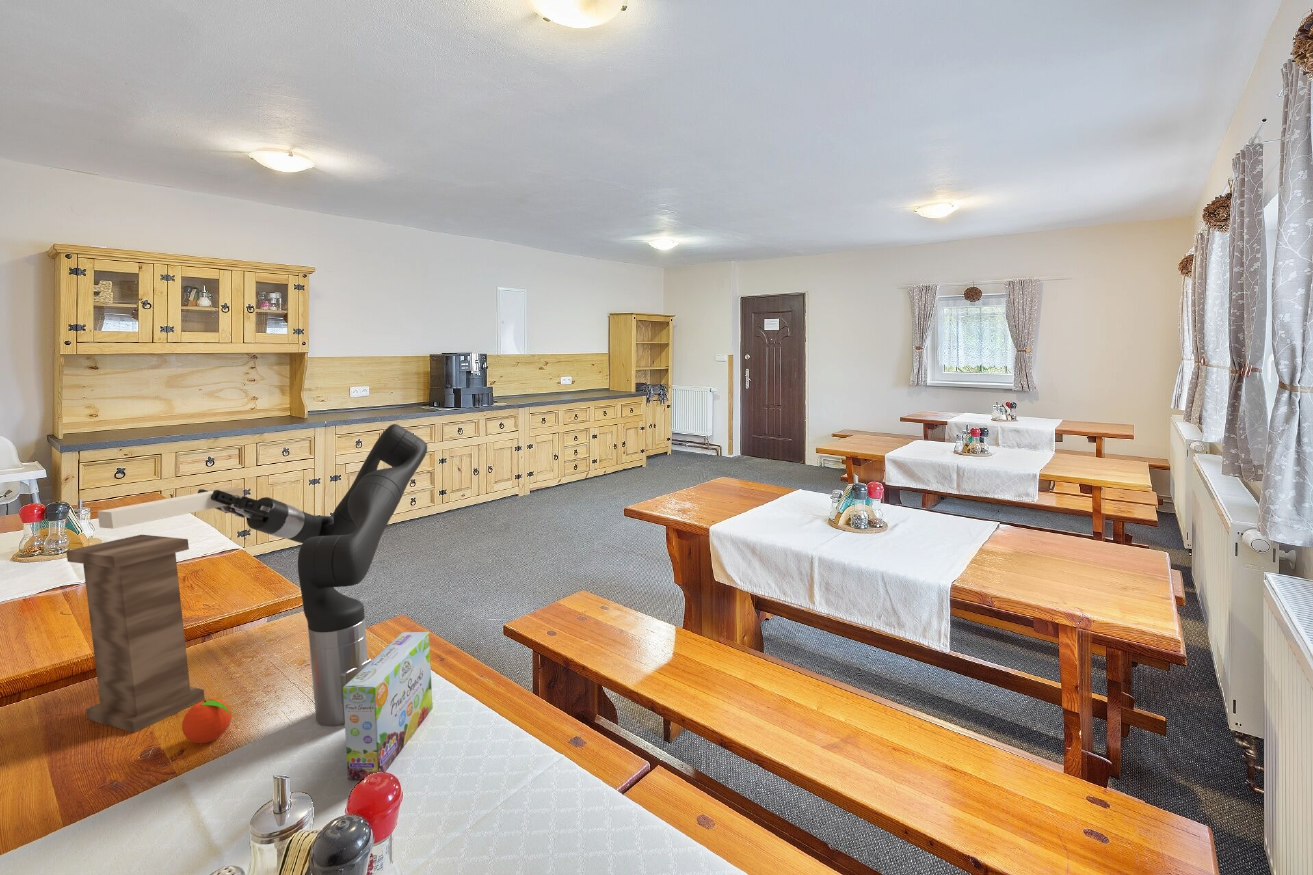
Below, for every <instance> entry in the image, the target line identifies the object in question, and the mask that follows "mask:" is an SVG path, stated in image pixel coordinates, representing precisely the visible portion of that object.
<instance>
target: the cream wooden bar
mask: <svg viewBox="0 0 1313 875" xmlns="http://www.w3.org/2000/svg"><path fill="white" fill-rule="evenodd" d="M214 490H220V491H223V492H225V493H228V494H231V495H233V496H234V495H238V496H240V497H242V496H245V493H244V487H235V486H234V487H233V486H227V487H224V488H222V487H221V488H217V489H213V490H207V491H208V492H203V493H198V492H196V493H191V494H186V495H180V496H176V497H171V498H164V499H158V500H153V501H148V502H143V503H135V504H130V505H126V506H125V505H124V506H120V507H114V508H108V509H102V510H98V511H97V517H98V518H97V519H98V526H99V528H101V529H102V528H103V529H111V530H112V529H113V530H114V529H119V528H124V527H128V526H133V525H138V524H143V523H148V522H152V521H157V520H163V519H169V518H172V517H177V516H182V515H187V514H192V513H197V512H201V511H206V510H210V509H211V510H212V509H215V508H217V507H222V506H229V505H230V504H229V505H225V504H222V503H219V502H216V501H213V500H211V496H212V494H213V492H214Z"/></svg>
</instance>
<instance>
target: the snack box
mask: <svg viewBox="0 0 1313 875" xmlns="http://www.w3.org/2000/svg"><path fill="white" fill-rule="evenodd" d="M430 640H431V639H430V631H417V632H416V631H414V632H413V631H412V632H407V631H406V632H401V633H400V634H399V635H398V636H397V637H396V638H395V639H394V640H393V641H392V642H390V643H389V644H388V645H387V646H386V647H385V648H384V649H383V650H382V651H381V652H380V653H379V654H378V655H376V656H375V657H374V658H373V659H371V660H372V661H371V662H370V663H369V664H368V665H367V666H366V667H365V668H364V669H363V670H361V671H360V672H359V673H358V674H357V675H356V676H355V677H354V678H353V679H352V680H351V681H350V682H348V683H347V684H346V685H345V686H344V687H343V699H344V716H345V724H344V728H345V730H344V731H345V746H346V748H345V750H346V764H347V767H346V768H347V780H359V781H361V780H362V779H364V778H365V777H367V776H368V775H370V774H373V773H377V772H387V770H388V769H389V767H390V766H391V764H392V763H393V762H394V761H395V759H396V758H397V757H398V755H399V754H400V752H401V751H402V750H403V748H404V747H405V746H406V745H407V743H408V742H409V741H410V739H411V738H412V736H413V735H414V733H416V731H417V729H418V728H419V727H420V726H421V725H422V724H423V722H424V721H425V719H426V718H427V717H428V715H429V714H430V713H431V712H432V710H433V707H434V705H433V688H432V668H431V648H430V647H431V643H430Z"/></svg>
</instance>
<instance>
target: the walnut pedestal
mask: <svg viewBox="0 0 1313 875" xmlns="http://www.w3.org/2000/svg"><path fill="white" fill-rule="evenodd" d="M187 550H190V547H189V539H188V538H181V537H180V538H179V537H170V536H162V535H161V536H160V535H151V534H150V535H149V534H138V535H134V536H129V537H124V538H121V539H115V540H110V541H106V542H101V543H97V544H92V545H87V546H83V547H78V548H73V549H68V550H66V551H65V552H66V559H67V562H69V563H76V564H82V566H83V573H84V574H83V575H84V582H85V591H86V598H87V605H88V606H87V607H88V613H89V622H90V629H91V630H90V631H91V632H90V633H91V638H92V646H93V647H92V648H93V657H94V662H95V670H96V671H95V673H96V680H97V687H98V688H97V689H98V696H99V703H97V704H95V705H93V706H90V707H87V708H86V709H85V711H86V718H87V720H89V721H92V722H96V723H99V724H103V725H106V726H109V727H112V728H113V727H114V728H117V729H120V730H123V731H127V732H131V733H137V732H138V731H141V730H143V729H146V728H147V727H149V726H152V725H154V724H157V722H160V721H162V720H164V719H166V718H168V717H171V716H173V715H175V714H178V712H181V711H182V710H185V709H187V708H189V707H193V706H194V705H196V704H197V703H199V702H201V701H204V700H206V699H205V697H206V696H205V690H204V689H203V688H198V687H194V686H191V685H190V676H189V675H190V674H189V664H188V659H187V657H188V656H187V647H186V638H185V630H184V619H183V611H182V600H181V593H180V592H181V591H180V583H179V573H178V564H177V555H176V554H177V553H180V552H184V551H187Z"/></svg>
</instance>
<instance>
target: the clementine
mask: <svg viewBox="0 0 1313 875" xmlns="http://www.w3.org/2000/svg"><path fill="white" fill-rule="evenodd" d="M232 715H233V714H232V710H231V708H230V707H229V705H228V704H227V702H225V701H223V700H220V699H216V698H208V699H204V700H202V701H200V702H198V703H196V704H194V705H192V706H191V708H189V710H187V712H186V714H185V715H184V716H183V720H182V723H181V730H182V734H183V735H184V737H185V738H186V739H187V740H189V741H191V742H192V743H196V744H206V743H210V742H213V741H215V740H217V739H219V738H220V737H221V736H222V735H223V734H225V732H226V731H227V729H228V728H229V727H230V725H231V723H232Z"/></svg>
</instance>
